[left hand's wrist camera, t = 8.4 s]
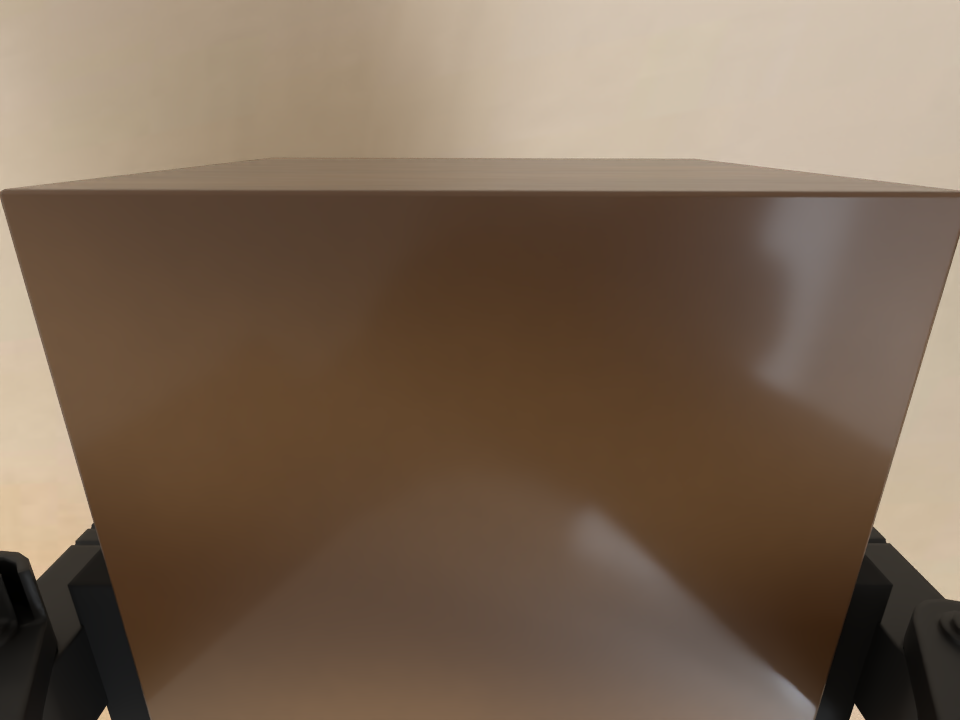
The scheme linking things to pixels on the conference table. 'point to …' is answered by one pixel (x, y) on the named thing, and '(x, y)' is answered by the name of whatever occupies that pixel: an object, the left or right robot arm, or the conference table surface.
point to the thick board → (483, 425)
